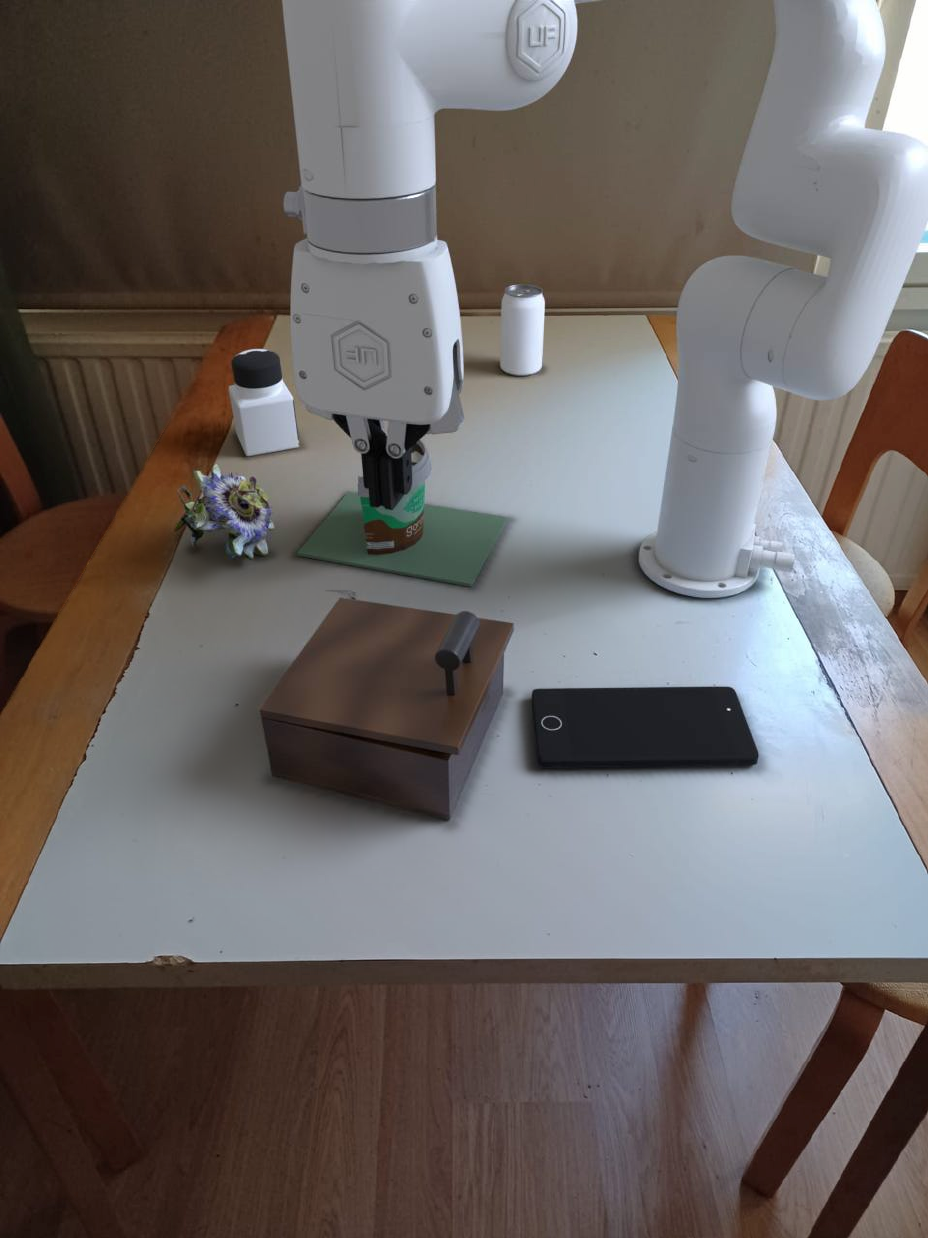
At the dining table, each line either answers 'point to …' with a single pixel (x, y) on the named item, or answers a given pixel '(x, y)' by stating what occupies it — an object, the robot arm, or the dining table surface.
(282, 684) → the lid
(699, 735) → the cell phone
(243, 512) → the passion flower
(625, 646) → the dining table surface
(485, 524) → the mat
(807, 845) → the dining table surface
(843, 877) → the dining table surface
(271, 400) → the medicine bottle
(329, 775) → the chest
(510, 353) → the can
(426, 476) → the food container
